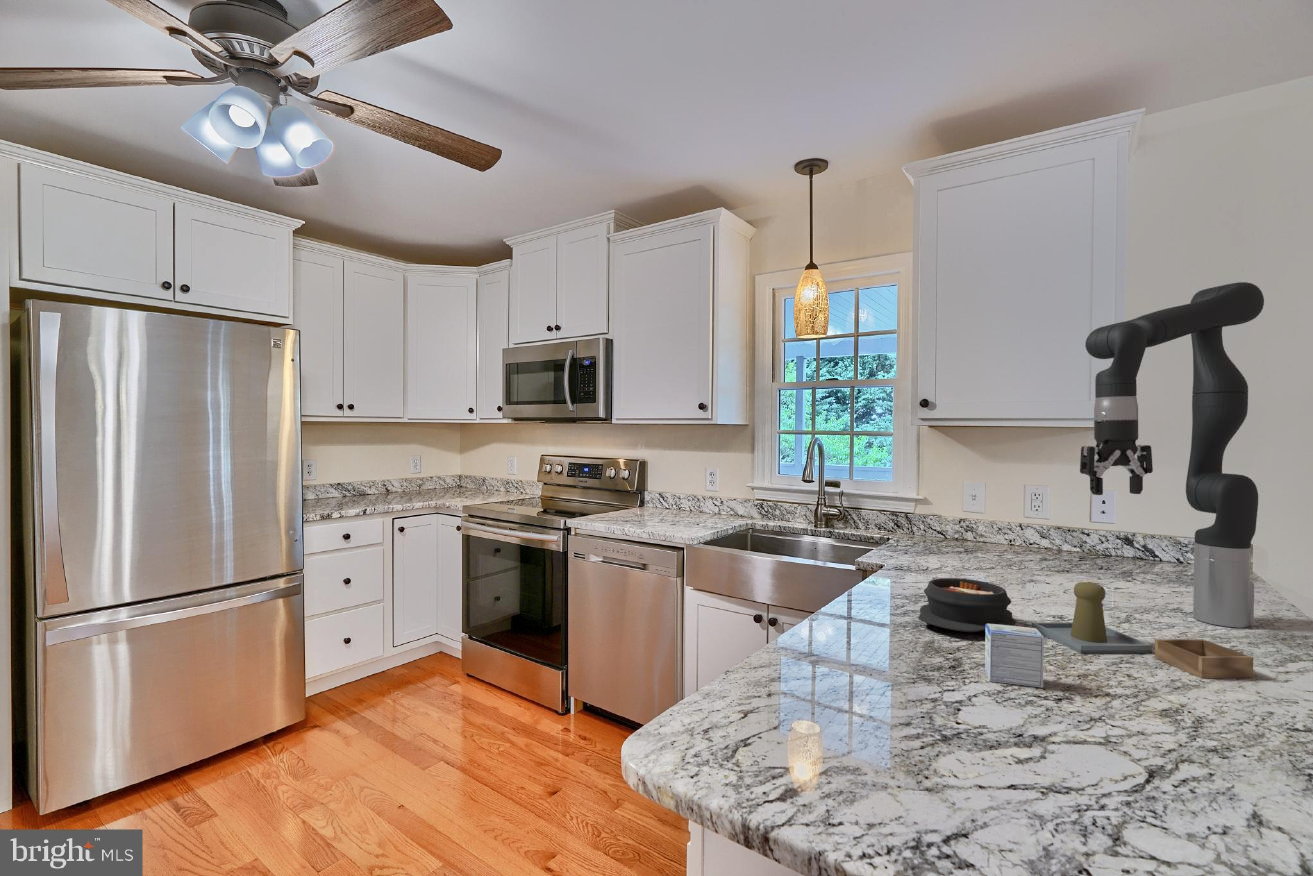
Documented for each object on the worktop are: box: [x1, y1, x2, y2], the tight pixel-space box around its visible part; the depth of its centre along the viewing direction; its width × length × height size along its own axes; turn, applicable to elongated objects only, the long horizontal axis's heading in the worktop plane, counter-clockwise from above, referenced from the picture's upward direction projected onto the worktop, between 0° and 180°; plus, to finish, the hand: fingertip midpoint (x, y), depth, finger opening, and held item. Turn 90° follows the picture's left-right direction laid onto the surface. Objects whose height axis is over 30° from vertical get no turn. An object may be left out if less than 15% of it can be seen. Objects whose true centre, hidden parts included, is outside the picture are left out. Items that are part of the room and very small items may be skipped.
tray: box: [1031, 621, 1153, 655], centre depth 122 cm, size 14×14×2 cm
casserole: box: [918, 577, 1016, 633], centre depth 132 cm, size 25×19×8 cm
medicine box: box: [984, 624, 1045, 688], centre depth 101 cm, size 8×4×9 cm, turn 71°
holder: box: [1154, 638, 1254, 679], centre depth 108 cm, size 9×9×4 cm
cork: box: [1071, 581, 1107, 643], centre depth 122 cm, size 6×6×11 cm
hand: (1116, 494), depth 129 cm, fingers open, 8 cm apart
